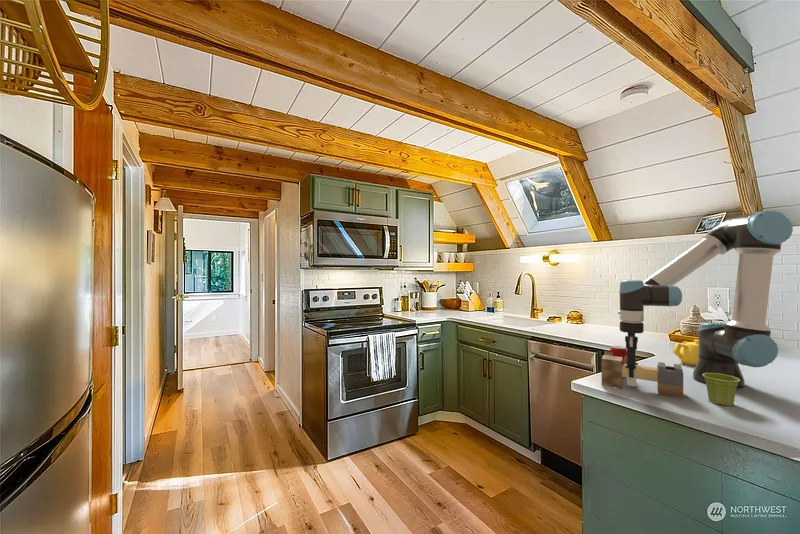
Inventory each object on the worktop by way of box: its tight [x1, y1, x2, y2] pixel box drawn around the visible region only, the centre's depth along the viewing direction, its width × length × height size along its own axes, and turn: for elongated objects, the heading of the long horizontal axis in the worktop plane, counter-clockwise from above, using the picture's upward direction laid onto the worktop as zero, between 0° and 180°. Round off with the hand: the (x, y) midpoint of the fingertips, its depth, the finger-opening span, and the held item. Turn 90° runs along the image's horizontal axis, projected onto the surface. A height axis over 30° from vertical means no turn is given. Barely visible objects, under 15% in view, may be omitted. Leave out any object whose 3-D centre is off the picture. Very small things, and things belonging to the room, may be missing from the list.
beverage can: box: [609, 345, 627, 379], centre depth 148 cm, size 6×6×12 cm
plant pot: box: [702, 373, 740, 407], centre depth 119 cm, size 9×9×9 cm
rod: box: [622, 364, 658, 383], centre depth 133 cm, size 16×4×4 cm, turn 56°
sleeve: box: [656, 361, 684, 400], centre depth 128 cm, size 7×7×10 cm
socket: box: [601, 354, 623, 390], centre depth 138 cm, size 6×7×10 cm
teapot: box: [672, 339, 699, 367], centre depth 169 cm, size 20×18×11 cm
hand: (631, 383), depth 134 cm, fingers closed on rod, 4 cm apart
